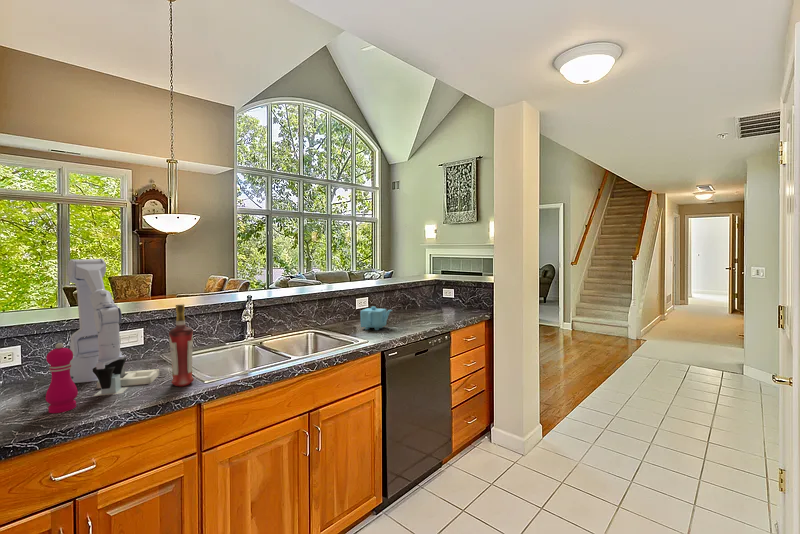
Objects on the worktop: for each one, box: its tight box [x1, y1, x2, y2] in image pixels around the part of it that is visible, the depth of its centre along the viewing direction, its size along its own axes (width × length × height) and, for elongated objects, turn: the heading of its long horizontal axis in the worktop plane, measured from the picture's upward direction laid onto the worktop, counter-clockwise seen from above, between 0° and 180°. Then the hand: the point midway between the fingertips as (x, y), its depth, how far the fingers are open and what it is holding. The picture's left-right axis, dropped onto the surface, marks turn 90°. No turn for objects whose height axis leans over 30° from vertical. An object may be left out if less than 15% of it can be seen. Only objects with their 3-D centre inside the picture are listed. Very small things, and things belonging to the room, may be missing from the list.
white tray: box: [96, 365, 160, 389], centre depth 139 cm, size 16×10×6 cm, turn 107°
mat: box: [93, 386, 129, 397], centre depth 129 cm, size 8×6×1 cm
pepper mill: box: [45, 342, 79, 414], centre depth 115 cm, size 7×7×20 cm
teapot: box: [360, 305, 393, 331], centre depth 228 cm, size 18×16×13 cm
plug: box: [100, 373, 122, 394], centre depth 129 cm, size 4×4×6 cm
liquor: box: [168, 303, 195, 388], centre depth 136 cm, size 7×7×28 cm
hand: (111, 384), depth 129 cm, fingers open, 7 cm apart
